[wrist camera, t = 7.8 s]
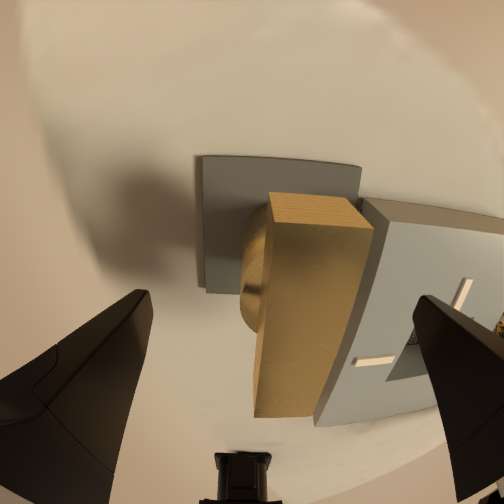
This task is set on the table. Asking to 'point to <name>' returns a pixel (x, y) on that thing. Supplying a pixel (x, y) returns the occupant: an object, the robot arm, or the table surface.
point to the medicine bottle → (500, 327)
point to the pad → (256, 203)
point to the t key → (299, 294)
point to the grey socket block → (409, 305)
